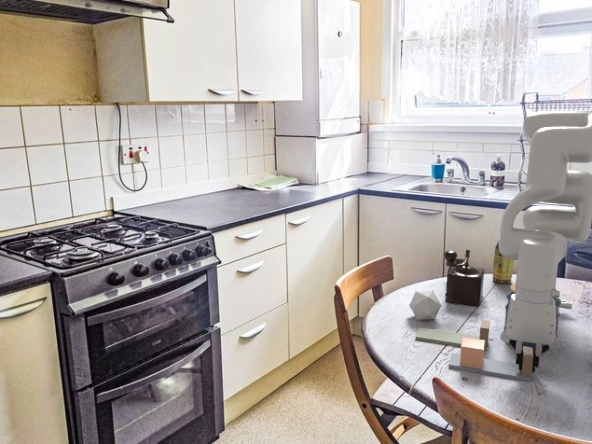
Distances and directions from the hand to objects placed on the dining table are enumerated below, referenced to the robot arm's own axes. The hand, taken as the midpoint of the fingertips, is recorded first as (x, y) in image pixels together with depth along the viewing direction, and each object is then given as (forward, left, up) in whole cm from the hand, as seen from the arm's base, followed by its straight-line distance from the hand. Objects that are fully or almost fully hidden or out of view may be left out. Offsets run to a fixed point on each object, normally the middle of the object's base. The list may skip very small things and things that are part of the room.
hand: (526, 367), depth 120 cm
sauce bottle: (+7, -63, -2) cm, 63 cm away
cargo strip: (+8, 0, -2) cm, 8 cm away
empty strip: (+18, -12, -2) cm, 22 cm away
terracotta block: (+12, 0, -1) cm, 12 cm away
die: (+27, -24, -2) cm, 36 cm away
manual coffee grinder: (+18, -40, -2) cm, 44 cm away
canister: (-1, -19, -2) cm, 19 cm away
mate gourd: (+21, -57, -2) cm, 61 cm away
